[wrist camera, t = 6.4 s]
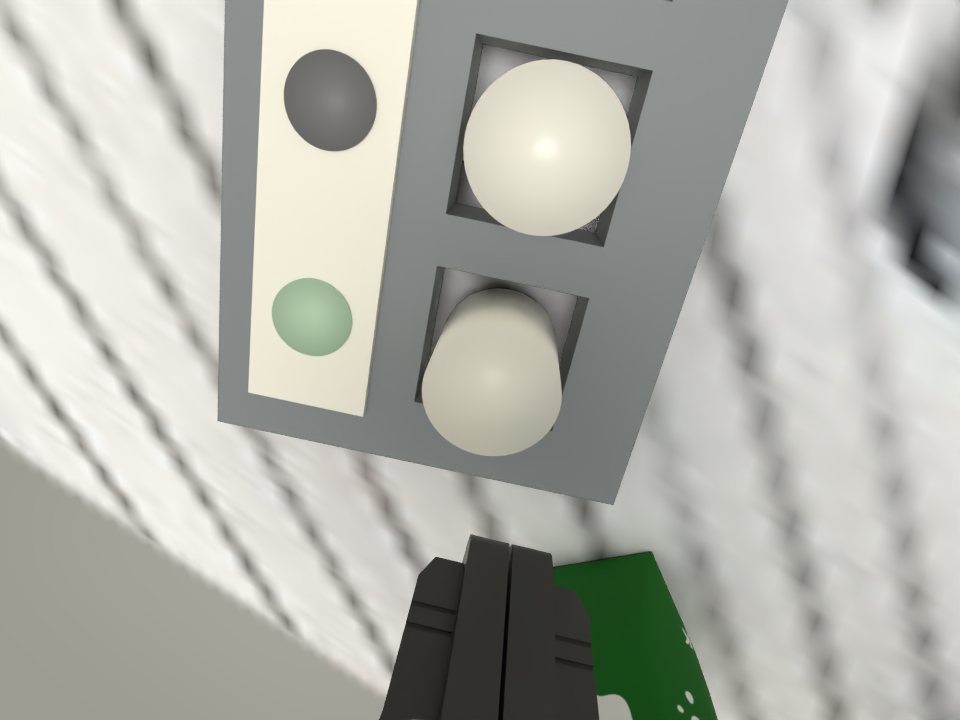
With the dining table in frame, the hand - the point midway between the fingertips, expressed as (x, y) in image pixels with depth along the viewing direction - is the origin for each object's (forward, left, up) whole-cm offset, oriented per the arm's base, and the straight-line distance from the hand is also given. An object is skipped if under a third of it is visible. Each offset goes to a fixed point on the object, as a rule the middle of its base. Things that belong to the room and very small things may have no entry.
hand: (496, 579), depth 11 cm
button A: (+1, +1, -15) cm, 15 cm away
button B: (+1, -7, -15) cm, 16 cm away
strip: (+8, -7, -14) cm, 17 cm away
